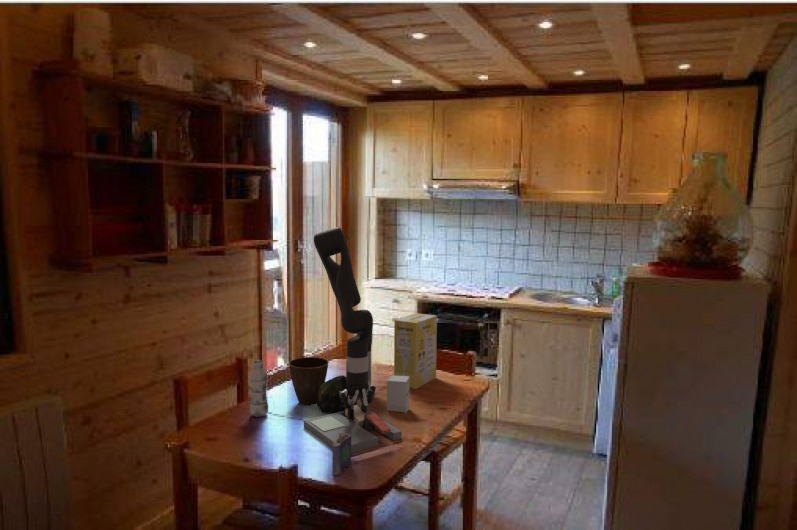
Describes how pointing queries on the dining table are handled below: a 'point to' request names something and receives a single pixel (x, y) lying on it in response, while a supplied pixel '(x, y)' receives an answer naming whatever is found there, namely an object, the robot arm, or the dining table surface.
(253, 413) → the plastic bottle
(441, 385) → the dining table surface
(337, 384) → the squash
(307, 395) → the plant pot
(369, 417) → the tip lever
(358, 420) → the slab
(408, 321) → the pasta box
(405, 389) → the supplement box
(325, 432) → the pocket board
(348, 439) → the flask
